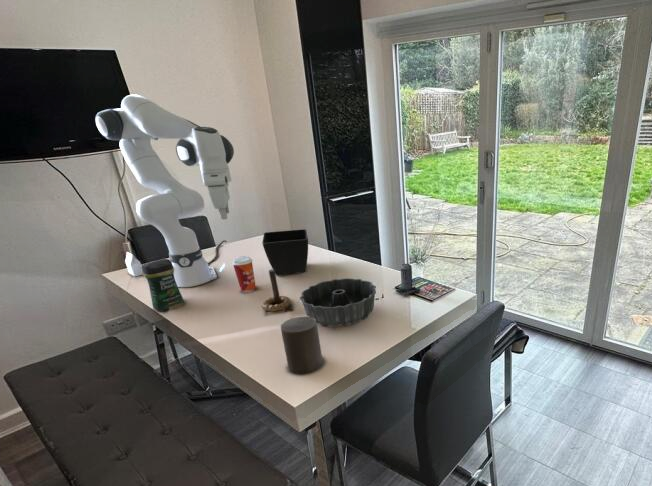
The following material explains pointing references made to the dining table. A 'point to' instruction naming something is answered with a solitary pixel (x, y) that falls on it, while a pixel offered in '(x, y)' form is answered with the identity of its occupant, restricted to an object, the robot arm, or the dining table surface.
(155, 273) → the coffee jar
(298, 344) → the pillar candle
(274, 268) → the flower pot
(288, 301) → the ring
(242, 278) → the paper cup
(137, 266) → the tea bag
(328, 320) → the bundt pan
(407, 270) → the grey tower model
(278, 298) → the post
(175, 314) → the dining table surface
